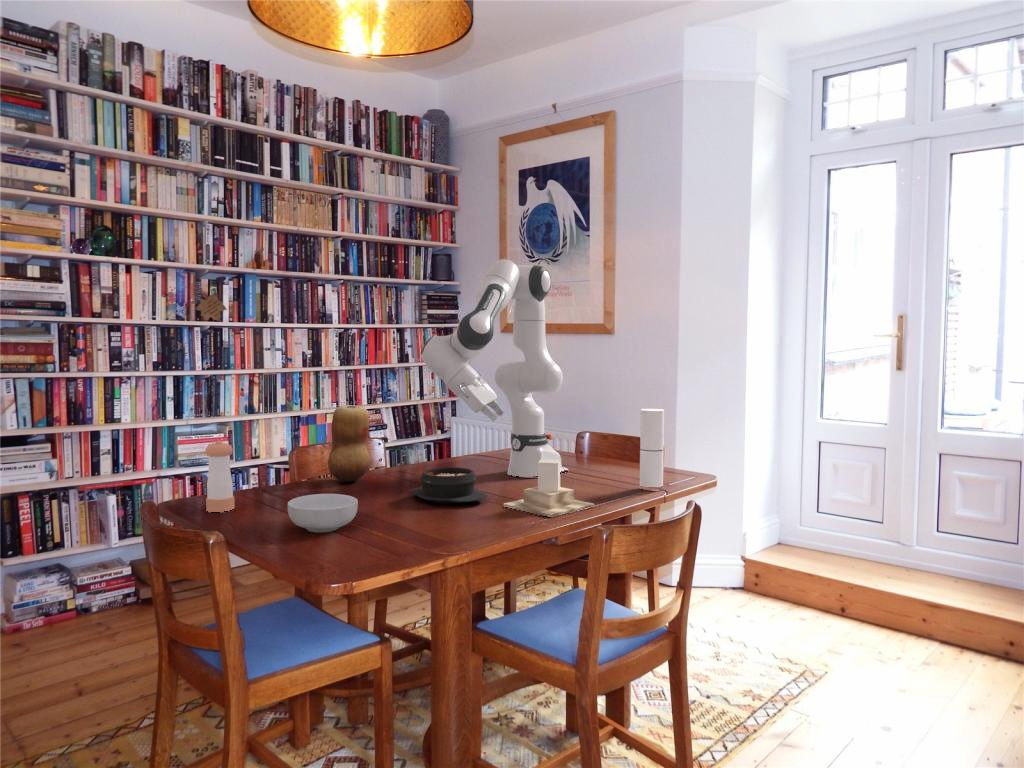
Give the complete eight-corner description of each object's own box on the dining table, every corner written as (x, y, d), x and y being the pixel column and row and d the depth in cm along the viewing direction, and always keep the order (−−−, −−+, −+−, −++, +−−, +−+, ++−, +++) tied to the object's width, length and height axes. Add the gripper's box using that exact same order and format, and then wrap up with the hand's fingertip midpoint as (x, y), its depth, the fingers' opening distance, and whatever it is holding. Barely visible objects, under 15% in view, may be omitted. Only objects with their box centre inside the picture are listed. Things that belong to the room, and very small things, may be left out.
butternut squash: (361, 486, 236) (360, 408, 234) (321, 484, 238) (320, 407, 237) (376, 478, 250) (375, 404, 248) (338, 476, 252) (337, 403, 250)
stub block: (546, 497, 221) (547, 468, 221) (594, 507, 209) (594, 477, 208) (503, 507, 209) (503, 477, 208) (551, 518, 196) (551, 486, 195)
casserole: (395, 499, 219) (395, 471, 218) (440, 489, 233) (439, 462, 232) (457, 512, 203) (457, 481, 202) (501, 500, 217) (501, 472, 217)
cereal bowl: (292, 540, 175) (292, 511, 174) (284, 524, 190) (283, 496, 189) (364, 533, 181) (364, 504, 181) (350, 517, 197) (350, 491, 196)
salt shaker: (221, 513, 200) (220, 443, 199) (200, 511, 203) (198, 441, 201) (240, 507, 207) (238, 439, 206) (219, 505, 209) (217, 438, 208)
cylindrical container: (637, 490, 231) (638, 410, 230) (642, 486, 238) (643, 408, 236) (660, 492, 229) (661, 411, 227) (664, 487, 235) (666, 409, 234)
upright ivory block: (540, 487, 212) (540, 459, 211) (560, 487, 211) (560, 459, 210) (537, 491, 206) (537, 462, 206) (557, 491, 205) (558, 463, 205)
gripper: (464, 377, 202) (499, 413, 201) (480, 372, 222) (513, 404, 221) (448, 394, 203) (484, 430, 202) (465, 386, 223) (498, 419, 222)
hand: (499, 416), depth 212 cm, fingers open, 8 cm apart
